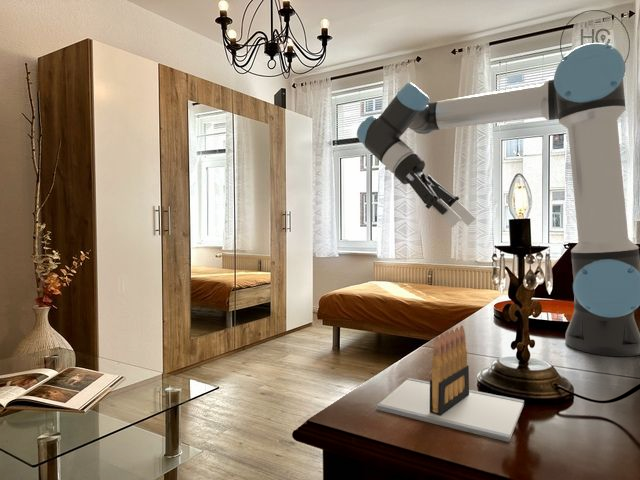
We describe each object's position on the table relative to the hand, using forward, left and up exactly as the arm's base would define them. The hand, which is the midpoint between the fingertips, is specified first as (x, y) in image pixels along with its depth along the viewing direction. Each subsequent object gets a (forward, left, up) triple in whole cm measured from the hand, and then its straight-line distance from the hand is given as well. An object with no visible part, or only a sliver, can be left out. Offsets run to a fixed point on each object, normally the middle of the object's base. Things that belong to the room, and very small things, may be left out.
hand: (464, 222), depth 102 cm
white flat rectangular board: (-7, +35, -30) cm, 46 cm away
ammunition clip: (-7, +35, -29) cm, 46 cm away
